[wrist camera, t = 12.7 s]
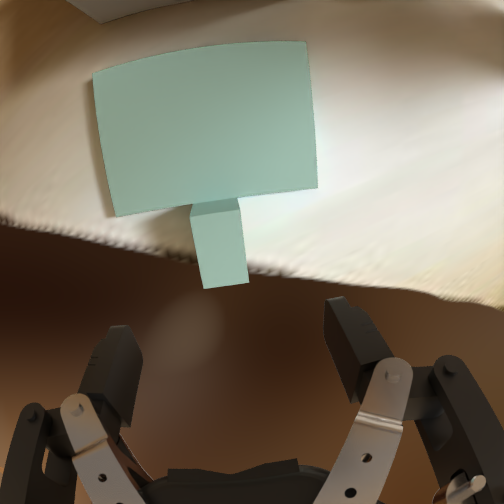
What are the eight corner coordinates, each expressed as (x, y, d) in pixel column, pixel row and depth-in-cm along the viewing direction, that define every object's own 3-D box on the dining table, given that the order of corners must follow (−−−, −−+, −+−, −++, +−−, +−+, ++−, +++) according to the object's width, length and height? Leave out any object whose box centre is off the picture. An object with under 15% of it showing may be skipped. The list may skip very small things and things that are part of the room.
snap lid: (300, 45, 16) (319, 30, 12) (314, 245, 23) (331, 269, 19) (98, 75, 15) (74, 68, 12) (137, 270, 22) (124, 298, 18)
